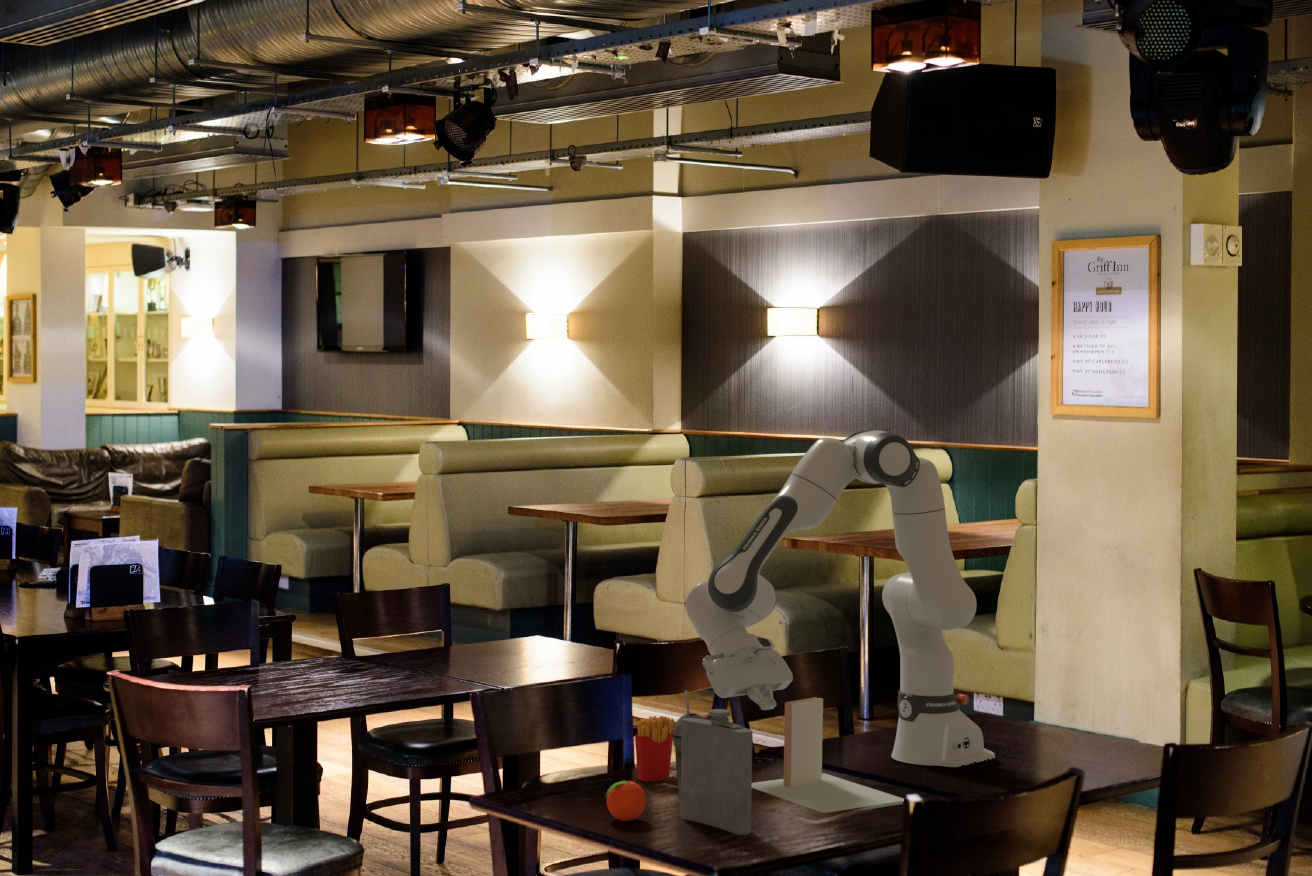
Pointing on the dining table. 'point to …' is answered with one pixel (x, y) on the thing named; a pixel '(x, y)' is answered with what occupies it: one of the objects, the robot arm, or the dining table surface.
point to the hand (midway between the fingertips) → (770, 707)
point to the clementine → (626, 800)
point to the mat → (830, 794)
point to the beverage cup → (678, 740)
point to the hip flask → (716, 772)
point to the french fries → (654, 748)
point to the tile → (803, 741)
